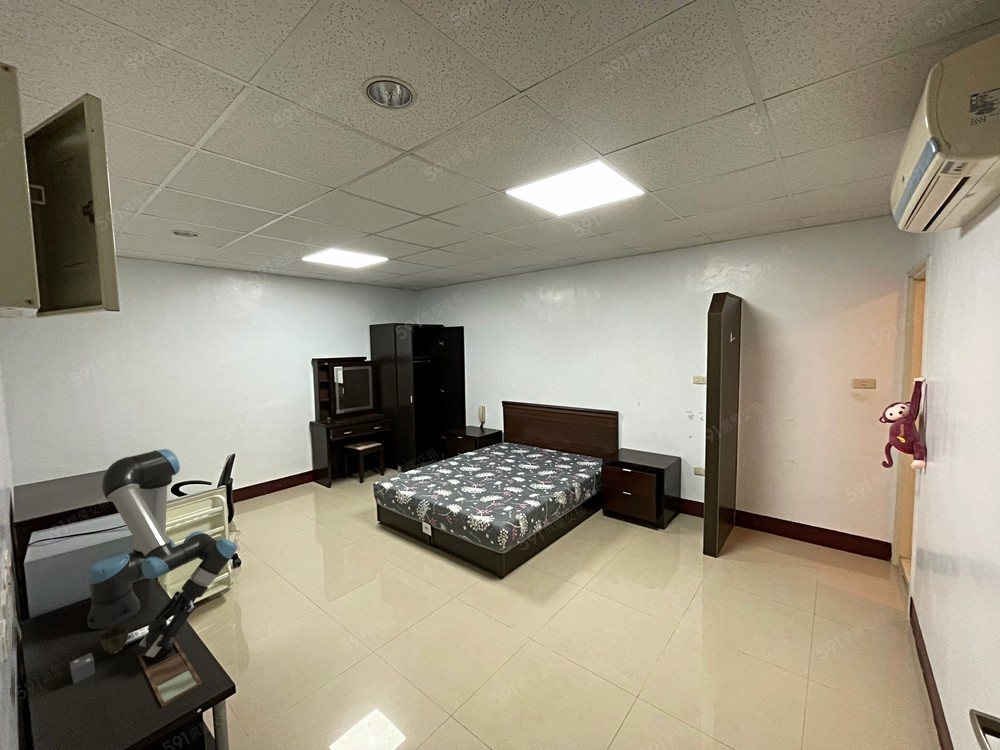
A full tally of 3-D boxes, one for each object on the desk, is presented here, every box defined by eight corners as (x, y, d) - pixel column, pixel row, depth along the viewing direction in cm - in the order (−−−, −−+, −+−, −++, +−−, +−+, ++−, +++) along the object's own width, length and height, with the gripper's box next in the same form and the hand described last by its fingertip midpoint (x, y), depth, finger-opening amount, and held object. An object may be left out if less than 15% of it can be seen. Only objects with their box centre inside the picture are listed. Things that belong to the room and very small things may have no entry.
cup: (112, 661, 138) (110, 640, 138) (95, 658, 140) (93, 636, 139) (136, 645, 146) (134, 624, 145) (119, 642, 147) (117, 621, 146)
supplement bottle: (177, 651, 143) (174, 619, 141) (154, 665, 136) (150, 632, 135) (166, 644, 145) (163, 613, 144) (143, 658, 139) (139, 626, 138)
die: (71, 676, 133) (69, 661, 132) (92, 666, 137) (91, 652, 136) (73, 684, 130) (71, 669, 129) (95, 673, 134) (93, 659, 133)
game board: (137, 657, 140) (137, 655, 140) (174, 639, 148) (174, 638, 148) (161, 707, 121) (161, 705, 121) (202, 684, 129) (202, 682, 129)
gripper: (218, 595, 146) (166, 666, 134) (198, 576, 157) (148, 640, 146) (200, 589, 141) (143, 662, 129) (180, 569, 152) (127, 635, 141)
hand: (146, 650), depth 138 cm, fingers closed on supplement bottle, 7 cm apart
